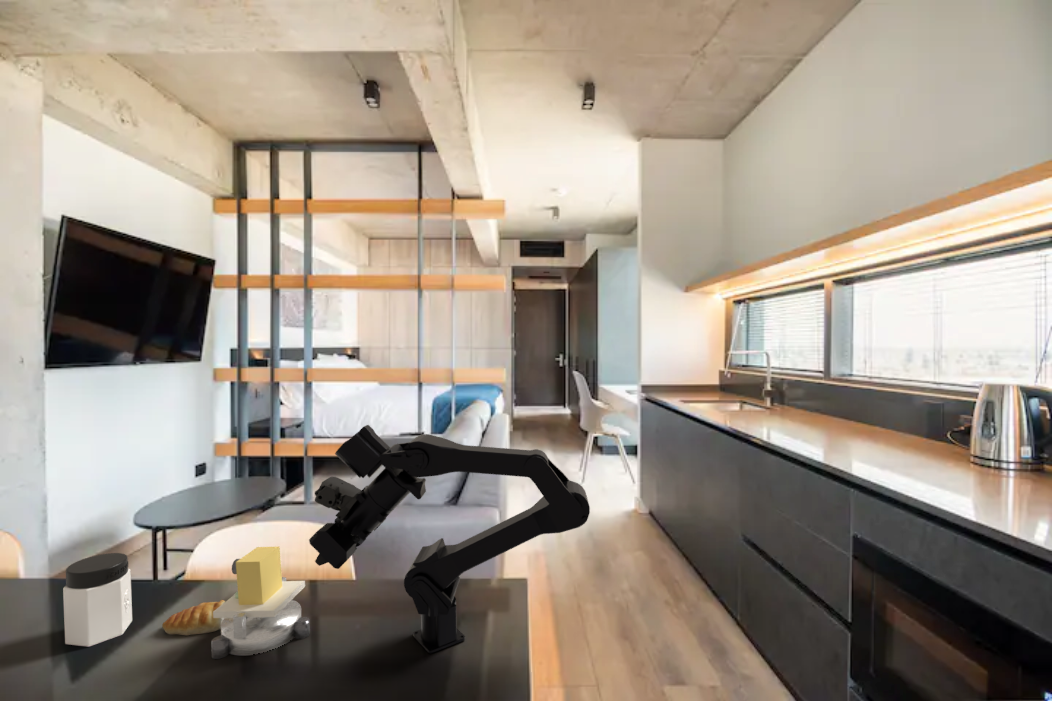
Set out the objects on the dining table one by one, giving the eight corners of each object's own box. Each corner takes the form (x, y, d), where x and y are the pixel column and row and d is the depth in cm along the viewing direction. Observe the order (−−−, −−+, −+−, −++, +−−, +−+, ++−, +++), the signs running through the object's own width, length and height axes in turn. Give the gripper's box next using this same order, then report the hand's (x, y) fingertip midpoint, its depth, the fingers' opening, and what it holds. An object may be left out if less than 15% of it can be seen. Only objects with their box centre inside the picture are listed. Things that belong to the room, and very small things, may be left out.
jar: (119, 642, 87) (116, 569, 86) (57, 652, 84) (54, 578, 83) (138, 614, 95) (135, 548, 95) (82, 623, 92) (79, 555, 92)
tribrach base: (327, 612, 95) (327, 576, 95) (286, 661, 81) (285, 619, 81) (252, 610, 96) (251, 575, 96) (199, 658, 82) (198, 617, 82)
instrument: (306, 588, 93) (302, 540, 93) (273, 620, 83) (269, 567, 83) (251, 589, 94) (248, 542, 94) (212, 622, 84) (208, 569, 83)
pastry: (157, 643, 87) (156, 620, 86) (170, 622, 93) (169, 600, 93) (221, 632, 90) (221, 610, 89) (230, 612, 96) (230, 592, 96)
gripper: (367, 449, 96) (310, 509, 97) (320, 478, 77) (250, 551, 78) (411, 492, 96) (353, 552, 97) (374, 531, 77) (303, 605, 78)
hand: (317, 562), depth 88 cm, fingers closed
